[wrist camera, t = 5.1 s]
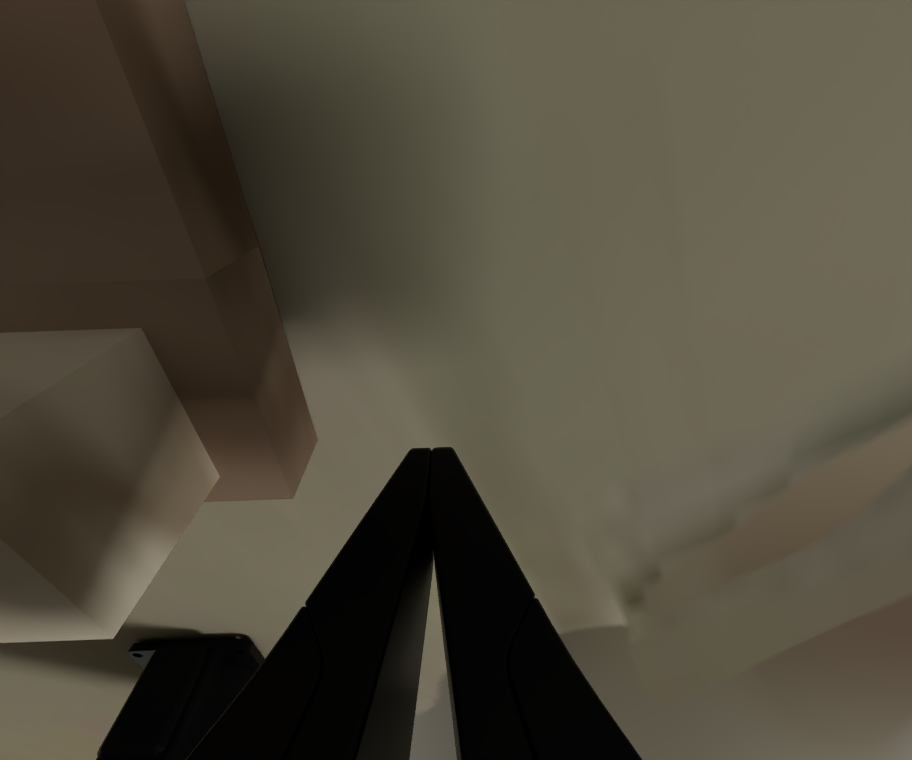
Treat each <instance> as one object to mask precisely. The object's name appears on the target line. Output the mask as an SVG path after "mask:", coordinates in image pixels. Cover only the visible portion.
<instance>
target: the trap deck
mask: <svg viewBox="0 0 912 760" xmlns="http://www.w3.org/2000/svg"><path fill="white" fill-rule="evenodd" d="M124 328H142V330H143V332H144V334H145V336H146V338H147V340H148V342H149V344H150V345H151V347H152V349H153V351H154V353H155V355H156V357H157V359H158V361H159V362H160V364H161V366H162V368H163V370H164V372H165V374H166V376H167V378H168V380H169V381H170V383H171V385H172V387H173V389H174V391H175V393H176V395H177V397H178V398H179V400H180V402H181V404H182V406H183V408H184V410H185V412H186V414H187V415H188V417H189V419H190V421H191V423H192V425H193V427H194V429H195V431H196V432H197V434H198V436H199V438H200V440H201V442H202V444H203V446H204V448H205V449H206V451H207V453H208V455H209V457H210V459H211V461H212V463H213V465H214V466H215V468H216V470H217V472H218V474H219V476H220V477H219V479H218V480H217V482H216V484H215V485H214V487H213V488H212V490H211V491H210V493H209V494H208V496H207V497H206V499H205V500H204V502H213V501H241V500H269V499H293V497H294V495H295V493H296V490H297V488H298V486H299V483H300V481H301V478H302V476H303V474H304V471H305V469H306V466H307V464H308V462H309V459H310V457H311V455H312V452H313V450H314V447H315V445H316V443H317V437H316V433H315V430H314V427H313V424H312V420H311V417H310V414H309V410H308V407H307V404H306V401H305V397H304V394H303V391H302V387H301V384H300V381H299V378H298V374H297V371H296V368H295V364H294V361H293V358H292V355H291V351H290V348H289V345H288V341H287V338H286V335H285V332H284V328H283V325H282V322H281V318H280V315H279V312H278V309H277V305H276V302H275V299H274V295H273V292H272V289H271V286H270V282H269V279H268V276H267V272H266V269H265V266H264V263H263V259H262V256H261V253H260V249H259V246H258V243H257V240H256V236H255V233H254V230H253V226H252V223H251V220H250V217H249V213H248V210H247V207H246V204H245V200H244V197H243V194H242V190H241V187H240V184H239V181H238V177H237V174H236V171H235V167H234V164H233V161H232V158H231V154H230V151H229V148H228V144H227V141H226V138H225V135H224V131H223V128H222V125H221V121H220V118H219V115H218V112H217V108H216V105H215V102H214V98H213V95H212V92H211V89H210V85H209V82H208V79H207V75H206V72H205V69H204V66H203V62H202V59H201V56H200V52H199V49H198V46H197V43H196V39H195V36H194V33H193V29H192V26H191V23H190V20H189V16H188V13H187V10H186V6H185V3H184V0H0V333H11V332H39V331H67V330H96V329H124Z"/></svg>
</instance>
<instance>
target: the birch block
mask: <svg viewBox="0 0 912 760" xmlns="http://www.w3.org/2000/svg"><path fill="white" fill-rule="evenodd" d="M219 477H220V476H219V474H218V472H217V470H216V468H215V466H214V465H213V463H212V461H211V459H210V457H209V455H208V453H207V451H206V449H205V448H204V446H203V444H202V442H201V440H200V438H199V436H198V434H197V432H196V431H195V429H194V427H193V425H192V423H191V421H190V419H189V417H188V415H187V414H186V412H185V410H184V408H183V406H182V404H181V402H180V400H179V398H178V397H177V395H176V393H175V391H174V389H173V387H172V385H171V383H170V381H169V380H168V378H167V376H166V374H165V372H164V370H163V368H162V366H161V364H160V362H159V361H158V359H157V357H156V355H155V353H154V351H153V349H152V347H151V345H150V344H149V342H148V340H147V338H146V336H145V334H144V332H143V330H142V328H124V329H96V330H67V331H39V332H11V333H0V643H15V642H42V641H69V640H97V639H114V637H115V635H116V634H117V632H118V631H119V629H120V628H121V626H122V625H123V623H124V622H125V620H126V619H127V617H128V616H129V614H130V613H131V611H132V610H133V608H134V607H135V605H136V604H137V602H138V601H139V599H140V597H141V596H142V594H143V593H144V591H145V590H146V588H147V587H148V585H149V584H150V582H151V581H152V579H153V578H154V576H155V575H156V573H157V572H158V570H159V569H160V567H161V566H162V564H163V563H164V561H165V559H166V558H167V556H168V555H169V553H170V552H171V550H172V549H173V547H174V546H175V544H176V543H177V541H178V540H179V538H180V537H181V535H182V534H183V532H184V531H185V529H186V528H187V526H188V525H189V523H190V522H191V520H192V518H193V517H194V515H195V514H196V512H197V511H198V509H199V508H200V506H201V505H202V503H203V502H204V500H205V499H206V497H207V496H208V494H209V493H210V491H211V490H212V488H213V487H214V485H215V484H216V482H217V480H218V479H219Z"/></svg>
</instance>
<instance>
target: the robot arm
mask: <svg viewBox="0 0 912 760" xmlns="http://www.w3.org/2000/svg"><path fill="white" fill-rule="evenodd" d="M433 561H435V572H436V581H437V590H438V598H439V607H440V616H441V625H442V633H443V642H444V651H445V659H446V668H447V677H448V686H449V694H450V702H451V712H452V720H453V729H454V738H455V747H456V755H457V760H642V759H641V757H640V756H639V754H638V753H637V752H636V750H635V749H634V747H633V746H632V744H631V743H630V742H629V740H628V739H627V737H626V736H625V735H624V733H623V732H622V730H621V729H620V727H619V726H618V725H617V723H616V722H615V720H614V719H613V717H612V716H611V715H610V713H609V712H608V710H607V709H606V708H605V706H604V705H603V703H602V702H601V700H600V699H599V697H598V696H597V694H596V693H595V691H594V690H593V688H592V687H591V685H590V684H589V682H588V681H587V680H586V678H585V676H584V675H583V673H582V672H581V670H580V669H579V667H578V666H577V664H576V663H575V661H574V660H573V658H572V657H571V655H570V653H569V652H568V650H567V648H566V647H565V645H564V643H563V642H562V640H561V638H560V637H559V635H558V633H557V632H556V630H555V628H554V627H553V625H552V623H551V621H550V620H549V618H548V616H547V614H546V613H545V611H544V609H543V607H542V605H541V604H540V602H539V600H538V599H537V598H534V597H535V594H534V592H533V590H532V588H531V586H530V585H529V583H528V581H527V579H526V577H525V576H524V574H523V572H522V570H521V568H520V567H519V565H518V563H517V561H516V560H515V558H514V556H513V554H512V552H511V551H510V549H509V547H508V545H507V543H506V542H505V540H504V538H503V536H502V535H501V533H500V531H499V529H498V527H497V526H496V524H495V522H494V520H493V518H492V517H491V515H490V513H489V511H488V510H487V508H486V506H485V504H484V502H483V501H482V499H481V497H480V495H479V494H478V492H477V490H476V488H475V486H474V485H473V483H472V481H471V479H470V477H469V476H468V474H467V472H466V470H465V469H464V467H463V465H462V463H461V461H460V460H459V458H458V456H457V454H456V452H455V451H454V449H453V448H451V447H437V448H433V450H432V451H431V449H430V448H413V449H411V450H410V451H409V452H408V453H407V455H406V456H405V458H404V459H403V461H402V462H401V463H400V465H399V466H398V468H397V469H396V471H395V472H394V474H393V475H392V477H391V478H390V479H389V481H388V482H387V484H386V485H385V487H384V488H383V490H382V491H381V493H380V494H379V496H378V497H377V498H376V500H375V501H374V503H373V504H372V506H371V507H370V509H369V510H368V512H367V513H366V514H365V516H364V517H363V519H362V520H361V522H360V523H359V525H358V526H357V528H356V529H355V530H354V532H353V533H352V535H351V536H350V538H349V539H348V541H347V542H346V544H345V545H344V546H343V548H342V549H341V551H340V552H339V554H338V555H337V557H336V558H335V560H334V561H333V563H332V564H331V565H330V567H329V568H328V570H327V571H326V573H325V574H324V576H323V577H322V579H321V580H320V581H319V583H318V584H317V586H316V587H315V589H314V590H313V592H312V593H311V595H310V596H309V597H308V599H307V600H306V602H305V604H306V607H302V608H301V609H300V610H299V612H298V613H297V615H296V616H295V617H294V619H293V620H292V622H291V623H290V625H289V626H288V628H287V629H286V631H285V632H284V634H283V635H282V636H281V638H280V639H279V640H278V642H277V643H276V645H275V646H274V647H273V649H272V650H271V652H270V653H269V654H268V656H267V657H266V658H265V660H264V659H263V657H262V656H261V654H260V653H259V651H258V650H257V649H256V647H255V646H254V644H253V643H252V642H251V641H249V640H245V639H226V640H199V641H171V642H144V643H134V644H133V645H132V646H131V648H130V650H129V651H128V653H127V655H128V656H129V657H130V658H131V659H133V660H134V661H135V662H136V663H137V664H138V665H139V666H140V667H142V668H143V669H144V670H143V672H142V674H141V676H140V677H139V679H138V681H137V683H136V684H135V686H134V688H133V690H132V692H131V693H130V695H129V697H128V699H127V700H126V702H125V704H124V706H123V707H122V709H121V711H120V713H119V715H118V716H117V718H116V720H115V722H114V723H113V725H112V727H111V729H110V731H109V732H108V734H107V736H106V738H105V739H104V741H103V743H102V745H101V747H100V748H99V751H98V753H97V755H98V757H97V759H96V760H409V758H410V750H411V741H412V734H413V726H414V718H415V710H416V702H417V694H418V685H419V677H420V669H421V661H422V653H423V645H424V637H425V629H426V621H427V612H428V604H429V596H430V588H431V580H432V571H433Z"/></svg>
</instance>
